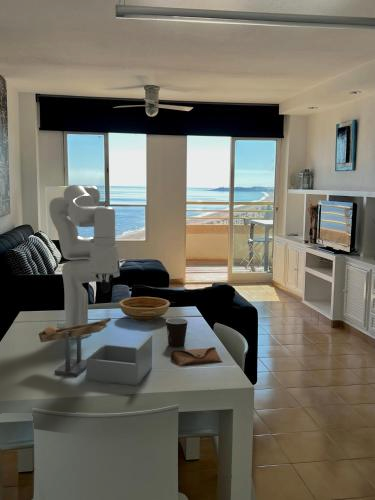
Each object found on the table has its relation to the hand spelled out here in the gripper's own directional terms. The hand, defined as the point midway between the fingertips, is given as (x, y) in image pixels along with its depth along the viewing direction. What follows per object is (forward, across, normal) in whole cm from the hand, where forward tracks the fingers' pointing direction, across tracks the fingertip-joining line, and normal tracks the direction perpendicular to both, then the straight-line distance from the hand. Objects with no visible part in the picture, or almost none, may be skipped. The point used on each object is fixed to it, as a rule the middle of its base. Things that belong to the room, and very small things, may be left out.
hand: (105, 292), depth 175 cm
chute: (+12, -7, -7) cm, 16 cm away
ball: (+12, -16, -12) cm, 23 cm away
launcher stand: (+25, -7, -12) cm, 29 cm away
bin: (+25, +10, -12) cm, 30 cm away
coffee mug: (+25, +21, +23) cm, 40 cm away
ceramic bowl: (+23, -2, +56) cm, 61 cm away
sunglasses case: (+26, +33, +7) cm, 42 cm away
